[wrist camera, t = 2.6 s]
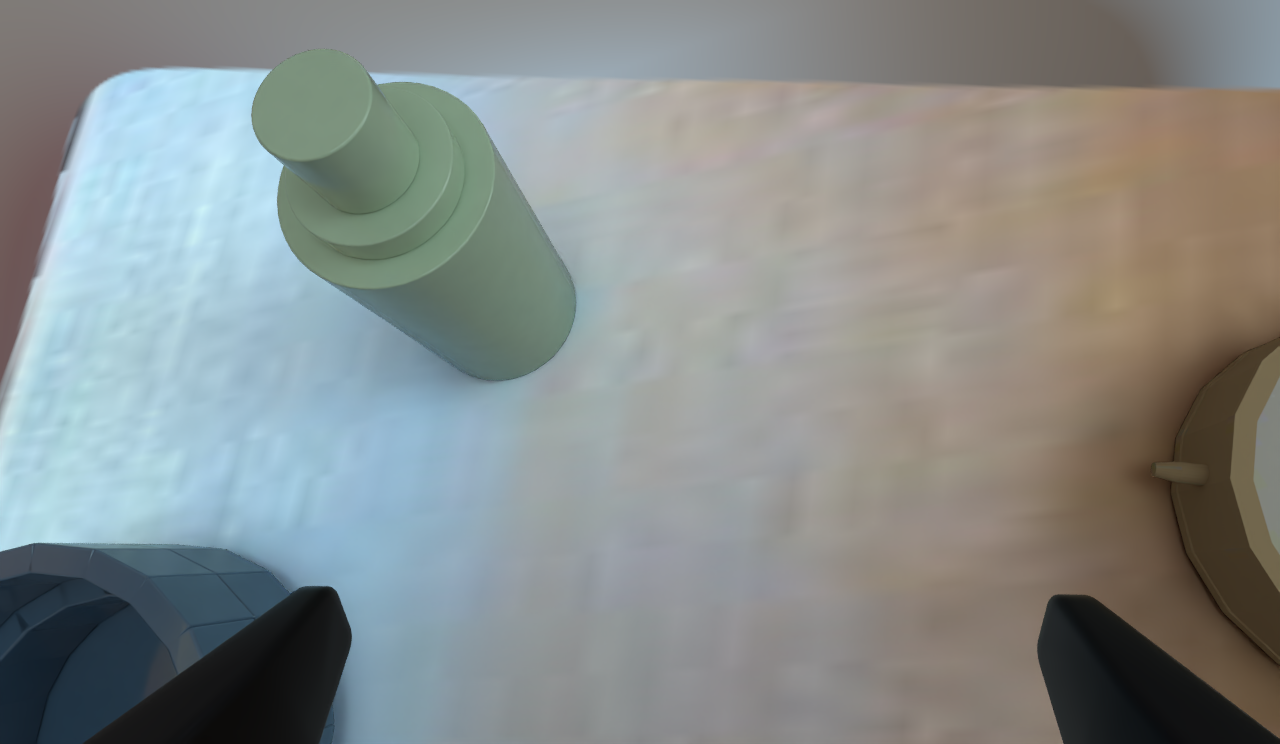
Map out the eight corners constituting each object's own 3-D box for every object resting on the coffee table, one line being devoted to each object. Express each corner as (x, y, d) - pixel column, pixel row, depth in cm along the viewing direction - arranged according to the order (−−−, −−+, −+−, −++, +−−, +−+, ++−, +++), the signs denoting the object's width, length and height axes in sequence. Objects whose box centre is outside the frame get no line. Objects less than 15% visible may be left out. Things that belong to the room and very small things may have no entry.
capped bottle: (538, 403, 25) (364, 269, 13) (405, 349, 26) (132, 180, 14) (599, 265, 26) (489, 24, 14) (469, 219, 27) (263, -42, 15)
